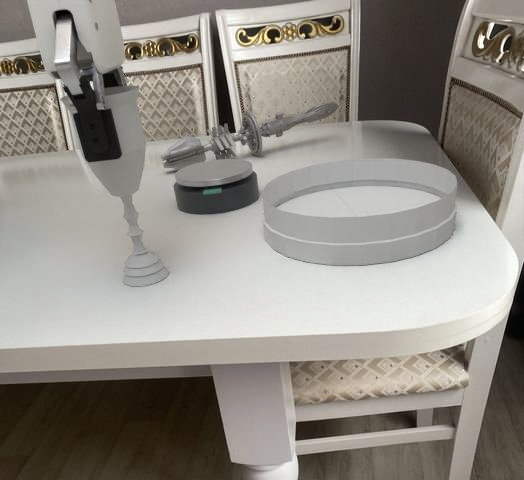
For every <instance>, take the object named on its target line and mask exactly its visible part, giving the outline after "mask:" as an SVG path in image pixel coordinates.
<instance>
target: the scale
mask: <svg viewBox="0 0 524 480" xmlns="http://www.w3.org/2000/svg"><path fill="white" fill-rule="evenodd" d="M258 181H259V180H258V174H257V172H255V171H254V170H253V172H252V173H251V174H250V175H249V176H247V177H245V178H243V179H241V180H238V181H235V182H231V183H227V184H222V185H215V186H206V187H191V186H184V185H180V184H178V183H177V182H176V181H175V182H174V183H173V186H172V187H173V192H174V196H175V201H176V207H177V209H178V210H179V211H180V212H182V213H184V214H189V215H198V216H202V215H203V216H205V215H206V216H208V215H209V216H210V215H218V214H226V213H230V211H231V212H234V211H235V212H236V211H238V210H242V209H244V208H247V207H249V206H251V205H253V204H254V203H256V202H257V201H258V200H259V198H260V192H259V182H258Z"/></svg>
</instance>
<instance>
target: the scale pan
mask: <svg viewBox="0 0 524 480" xmlns="http://www.w3.org/2000/svg"><path fill="white" fill-rule="evenodd" d="M253 171H254V169H253V164H252V162H250V160H246V159H239V158H230V159H228V158H225V159H220V160H216V159H212V160H205V161H204V162H200V163H196V164H192V165H189V166H186V167H184V168H182V169H177V171H176V172H175V173H174V179H175V182H177V183H178V184H180V185H184V186H191V187H206V186H215V185H222V184H227V183H231V182H235V181H238V180H241V179H243V178H245V177H247V176H249V175H250V174H251V173H252V172H253Z"/></svg>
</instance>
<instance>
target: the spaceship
mask: <svg viewBox="0 0 524 480" xmlns="http://www.w3.org/2000/svg"><path fill="white" fill-rule="evenodd" d="M338 109H339V104H338V103H337V102H334V101H327V102H323V103H320V104H316V105H313V106H310V107H308V108H307V109H306V110H305V111H302V112H298V113H284V114H283V112H282V111H279V112H276V113H275V115H274V117H272V118H269V119H265V120H263V121H262V122H260V124H258V121H257V119H256V117H255V115H254V114H253V113H252V111H250V110H249V109H245V110H244V111H243V112H242V115H241V127H240V128H239V130H238V131H237V134H235V135H232V134H231V132H230V131H229V126H228V125H229V124H228V123H227V122H226V123H223V126H222V125H221V124H220V125H217V127H216V126H213V127H211V129H210V128H209V129H206V131H207V132H208V134H209V135H210V136H211V137H210V138H211V139H208V143H205V144H203V143H202V141H201V139H200V138H197V137H193V136H191V135H185V136H184V137H183V138H181V139H180V140H178V141H177V142H175V143H174V144H173V145H171V146H170V147H169V148H167V150H166V151H164V153H162V154H160V156H159V157H160V160H161V161H162V163H161V165H163V169H174V170H180V169H182V168H184V167H186V166H189V165H192V164H196V163H200V162H205V161H207V156H206V153H207V152H210V151H211V153H213V155H214V156H215V160H220V159H232V157H234V158H236V157H238V155H237V154H236V153H235V151H233V150H232V147H236V146H237V145H236V142H240V144H241V146H243V147H245V146H246V145H247V147H248V149H249V150H250V151H251V153H252V154H253V155H254V156H260V155H262V152H263V138H270V137H271V136H274V135H275V137H276V138H281V137H283V135H284V132H286V131H289V130H290V129H293V128H294V127H296V126H298V125H302V124H305V123H309V124H310V123H314V122H316V121H317V122H318V121H321V120H324V119H326V118H328V117H330V116H331V115H333V114H334V113H336V111H338ZM262 137H263V138H262ZM163 161H164V162H163Z"/></svg>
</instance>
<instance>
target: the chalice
mask: <svg viewBox="0 0 524 480" xmlns="http://www.w3.org/2000/svg"><path fill="white" fill-rule="evenodd" d="M93 91H94V89H93ZM104 91H105V100H106V109H110V108H111V110H112V114H113V118H114V122H115V126H116V130H117V134H118V139H119V143H120V147H121V151H122V156H121V157H120V158H119V159H115V160H107V161H98V162H87V161H86V160H85V157H84V154H83V150H82V146H81V143H80V139H79V136H78V132H77V129H76V125H75V122H74V118H73V114H72V112H71V110H70V107H69V102H68V95H64V96H62V97H60V99H59V100H60V101H61V102H62V104H63V105H64V106H65V108H66V109H67V110H68V112H69V113H70V117H71V121H72V124H73V128H74V131H75V135H76V138H77V141H78V145H79V149H80V152H81V155H82V157H83V159H84V161H85V162H86V164H87V165H88V167H89V169H90V170H91V172H92V174H93V175H94V176H95V177H96V178H97V179H98V180H99V182H100V184H101V185H102V186H103V187H104V188H105V190H107V192H108V194H110V195H111V196H113V197H117V198H120V200H121V202H122V205H123V212H124V213H123V215H122V217H123V219H125V221H126V222H127V224H128V231H127V233H126V236H127V237H129V238H130V239H131V241H132V244H133V251H131V252H132V253H131V254H129V255H128V256H127V258H126V260H125V262H124V268H123V273H124V274H123V277H122V283H123V284H124V285H126V286H130V287H146V286H149V285H154V284H157V283H159V282H161V281H163V280H164V279H166V278H167V277H168V276H169V275H170V269H169V268H168V267H167V266H166V265H165V263H164V261H163V260H162V259H161V258H160V255H158V254H157V253H156V252H155V251H153V250H148V248H146V247H145V246H144V243H143V234H144V232H145V231H144V229H142V228H141V227H140V225H139V223H138V217H139V214H140V213H139V212H138V211H137V209H136V208H135V206H134V204H133V195H134V194H136V193H137V192H138V191H139V190H140V186H141V182H142V178H143V173H144V168H145V162H146V161H145V160H146V149H147V148H146V147H147V142H146V138H145V134H144V128H143V125H142V124H143V123H142V120H141V115H140V111H139V106H138V95H139V91H140V86H139V85H127V86H118V87H109V88H104Z"/></svg>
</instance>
